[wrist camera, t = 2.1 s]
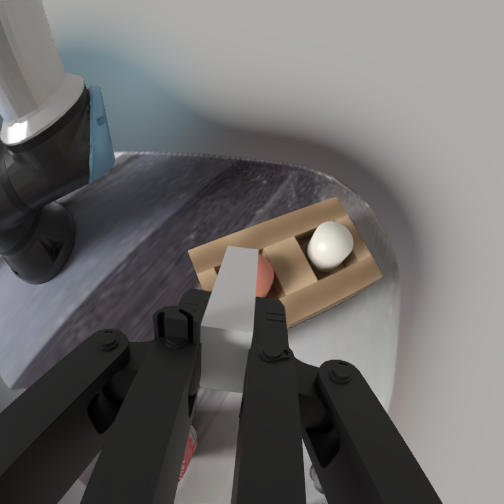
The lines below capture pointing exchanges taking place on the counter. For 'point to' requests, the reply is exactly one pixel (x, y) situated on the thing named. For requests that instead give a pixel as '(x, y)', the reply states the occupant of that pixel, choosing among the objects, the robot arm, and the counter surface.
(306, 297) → the tray
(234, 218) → the counter surface
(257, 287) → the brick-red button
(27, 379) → the counter surface
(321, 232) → the ivory button
